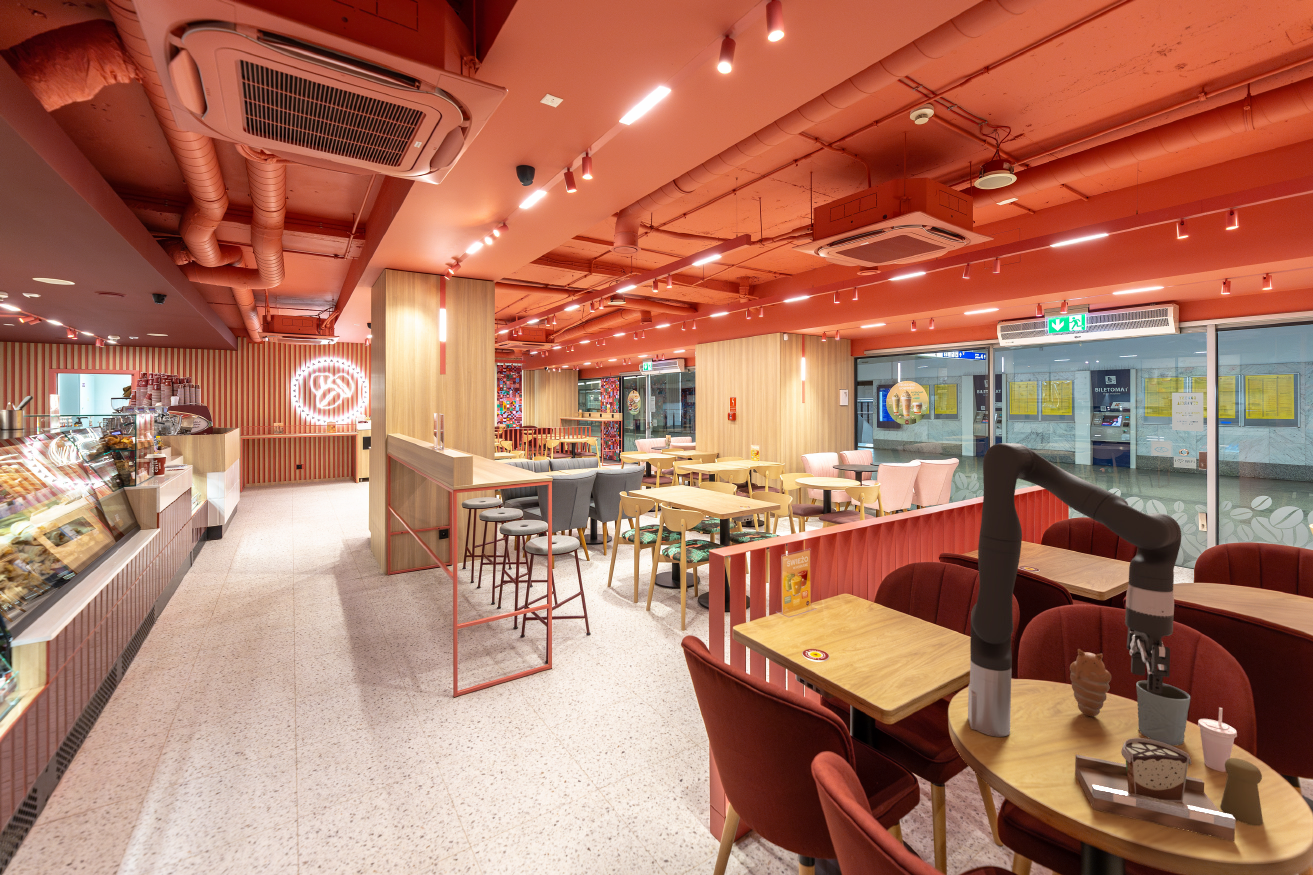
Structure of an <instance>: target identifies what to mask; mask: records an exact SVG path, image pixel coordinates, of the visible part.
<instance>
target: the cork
mask: <svg viewBox="0 0 1313 875" xmlns="http://www.w3.org/2000/svg"><path fill="white" fill-rule="evenodd" d="M1225 769H1226V771H1225V772H1226V773H1227V778H1226V781H1225V785H1224V789H1223V793H1222V796H1221V797H1222V798H1221V800H1220V806H1219V807H1220V811H1221V812H1222V813H1227V814H1231V815H1233V817H1234V818H1235V821H1237V822H1240V823H1243V824H1246V825H1251V826H1259V827H1260V826H1262V825H1263V824H1264V819H1263V818H1264V817H1263V813H1262V812H1263V810H1262V806H1261V805H1262V804H1261V800H1260V791H1259V785H1258V784H1260V783H1261V781H1262V779H1263V775H1262V771H1261V770H1260V769H1259V767H1257V766H1256V765H1255V764H1253V763H1251V762H1249V761H1248V760H1244V759H1242V758H1241V759H1240V758H1236V757H1230V759H1228V760H1226V762H1225Z"/></svg>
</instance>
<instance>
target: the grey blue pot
mask: <svg viewBox="0 0 1313 875" xmlns="http://www.w3.org/2000/svg"><path fill="white" fill-rule="evenodd" d="M1135 687H1136V696H1137V698H1136V700H1137V701H1136V702H1137V715H1138V716H1137V717H1138V722H1137V723H1138V731H1139V732H1140V734H1141V735H1142V736H1144V737H1145V738H1147V739H1150V740H1155V741H1159V742H1162V743H1165V744H1168V745H1171V746H1181V744H1182V745H1183V743H1184V742H1185V732H1186V729H1187V720H1188V715H1189V714H1188V712H1189V709H1190V703H1191V695H1190V694H1189V693H1188V692H1186V691H1184V690H1182V689H1180V688H1179V687H1175V686H1174V685H1173V686H1172V685H1170V684H1168V683H1167V684H1166V683H1164V682H1163V686H1162V693H1161V694H1158V693H1152V692H1149V691H1148V689H1147V680H1139V681H1137V682H1136V685H1135Z"/></svg>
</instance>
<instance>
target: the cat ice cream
mask: <svg viewBox="0 0 1313 875" xmlns="http://www.w3.org/2000/svg"><path fill="white" fill-rule="evenodd" d="M1103 656H1104V654H1103V653H1097V654H1095V653H1092V652H1088V651H1086V652H1085V651H1083V650H1081V649H1080V648H1077V656H1076V660H1075V661H1073V662H1072V663H1071V664H1070V666H1069V671H1070V674H1069V675H1070V676H1069V679H1070V681H1071V688H1072V691H1073V695H1074V696H1073V697H1074V698H1075V701H1076V702H1077V707H1078V710H1079V711H1080V712H1081V713H1082V714H1083V715H1085V716H1088V717H1096V716H1098V715H1099V714H1100V712H1101V709H1103V707H1104V702H1106V701H1107V693H1108V691H1110V685H1109V683H1110V682H1111V681H1112V674H1111V673H1110V671H1108V670H1107V669H1106V665H1105V663H1104V662H1103Z"/></svg>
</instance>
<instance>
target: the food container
mask: <svg viewBox="0 0 1313 875" xmlns="http://www.w3.org/2000/svg"><path fill="white" fill-rule="evenodd" d="M1121 756H1122V757H1123V759H1125V764H1126V769H1127V780H1128V791H1129V793H1133V794H1138V795H1142V796H1147V797H1152V798H1156V799H1161V800H1166V801H1171V802H1183V796H1184V789H1185V782H1186V776H1187V774H1188V767H1189V765H1192V759H1191V757H1190V754H1189V753H1188V752H1185V751H1184V750H1182V749H1179V748H1177V746H1176V747H1175V746H1174V745H1168V744H1165V743H1162V742H1159V741H1155V740H1152V739H1150V738H1145V737H1144V738H1142V737H1133V738H1128V739H1126V740H1125V742H1124V743H1123V745H1122V747H1121Z"/></svg>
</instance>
